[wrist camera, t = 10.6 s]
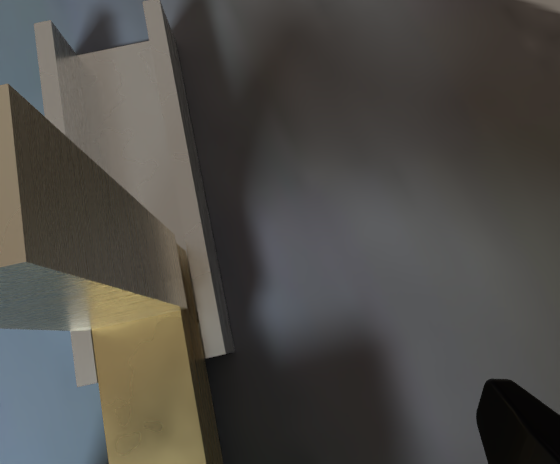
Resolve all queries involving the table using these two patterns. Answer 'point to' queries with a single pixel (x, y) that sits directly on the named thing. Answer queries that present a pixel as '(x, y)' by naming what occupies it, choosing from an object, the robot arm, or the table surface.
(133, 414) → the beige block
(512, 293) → the table surface
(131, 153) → the u-shaped channel
